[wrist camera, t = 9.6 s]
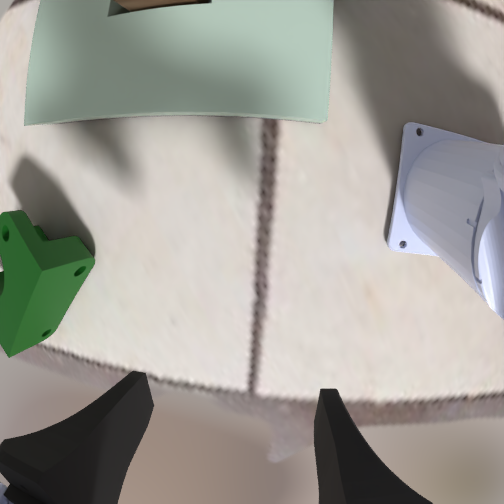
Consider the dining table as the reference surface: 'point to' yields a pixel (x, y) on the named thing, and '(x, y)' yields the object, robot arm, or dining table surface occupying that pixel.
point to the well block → (180, 60)
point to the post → (155, 3)
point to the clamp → (36, 281)
